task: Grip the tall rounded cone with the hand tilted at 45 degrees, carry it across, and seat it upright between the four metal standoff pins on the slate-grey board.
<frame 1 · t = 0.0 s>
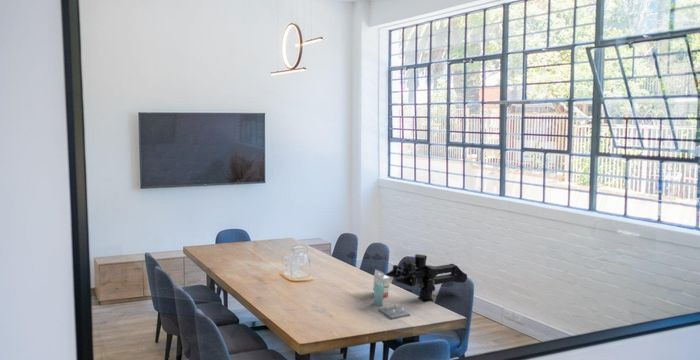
hand: (391, 277, 339), 17 cm above the table, tool horizontal, fingers open, 9 cm apart
pin board: (394, 312, 333), on the table
rounded cone: (377, 304, 343), on the table
ink cartridge box: (380, 295, 357), on the table
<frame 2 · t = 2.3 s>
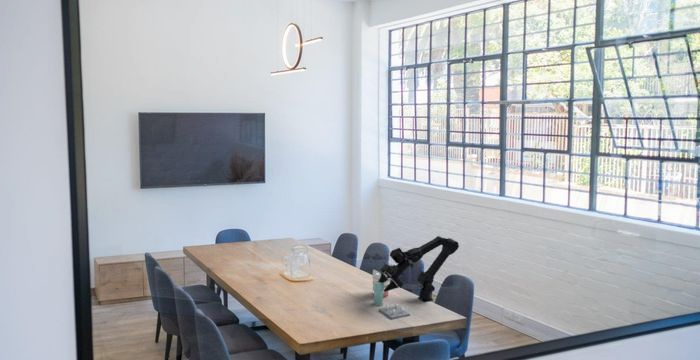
hand: (380, 288, 341), 9 cm above the table, tool tilted 45°, fingers open, 8 cm apart
ink cartridge box: (380, 294, 357), on the table, touching gripper
everything else where it was.
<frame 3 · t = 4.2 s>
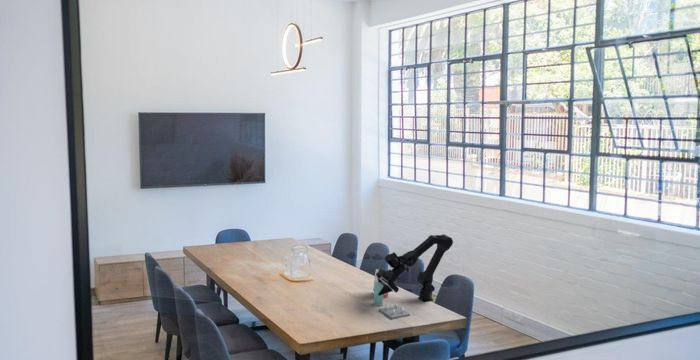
hand: (376, 293, 341), 7 cm above the table, tool tilted 45°, fingers closed on rounded cone, 5 cm apart
rounded cone: (377, 304, 343), on the table, touching gripper
ink cartridge box: (380, 295, 357), on the table
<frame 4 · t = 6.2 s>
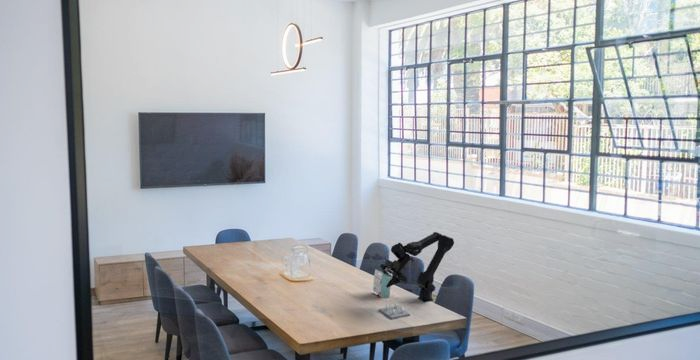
hand: (383, 285, 335), 13 cm above the table, tool tilted 45°, fingers closed on rounded cone, 5 cm apart
rounded cone: (384, 296, 337), point 7 cm above the table, touching gripper
everything else where it was.
when the fingers open (9 cm above the table, at t = 8.4 s): rounded cone stays where it is, resting on pin board.
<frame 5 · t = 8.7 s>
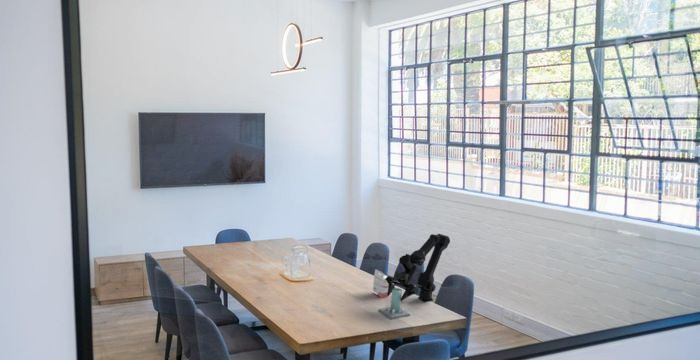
hand: (394, 298, 330), 9 cm above the table, tool tilted 45°, fingers open, 8 cm apart
rounded cone: (394, 311, 333), point 1 cm above the table, touching pin board
everything else where it was.
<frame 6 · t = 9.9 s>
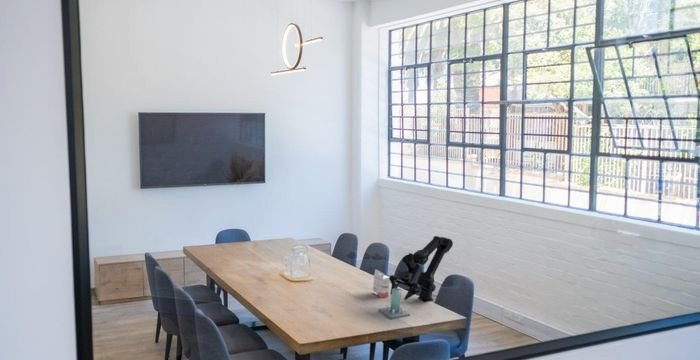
hand: (397, 297, 333), 8 cm above the table, tool tilted 45°, fingers open, 9 cm apart
nothing on the table moved.
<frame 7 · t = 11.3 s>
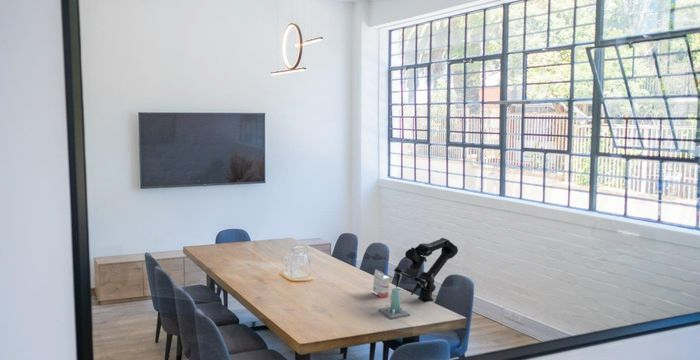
hand: (403, 291, 339), 10 cm above the table, tool tilted 35°, fingers open, 9 cm apart
nothing on the table moved.
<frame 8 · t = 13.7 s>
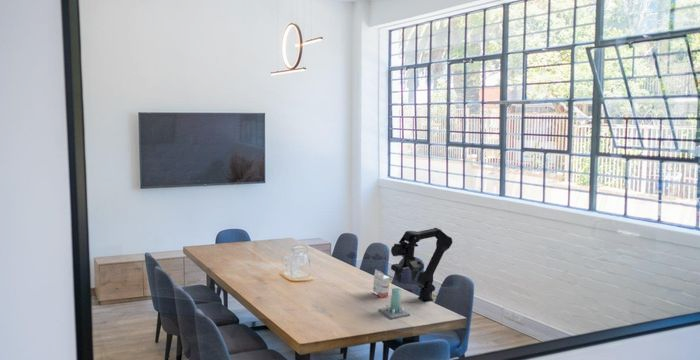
hand: (406, 281, 345), 13 cm above the table, tool pointing down, fingers open, 9 cm apart
nothing on the table moved.
at the end: rounded cone 0.1 cm off-centre on the pin board, point 1.0 cm above the pin board's base; rounded cone tilted 0°; the gripper is holding nothing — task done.
